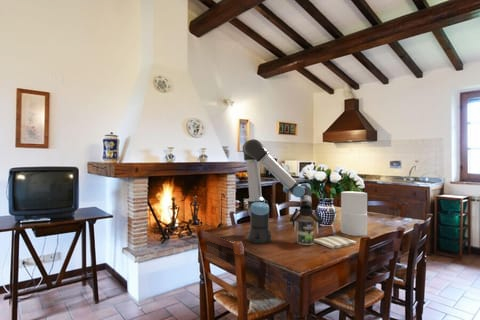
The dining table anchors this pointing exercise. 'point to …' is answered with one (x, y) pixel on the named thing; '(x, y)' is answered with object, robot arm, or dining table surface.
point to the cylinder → (354, 213)
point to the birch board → (334, 241)
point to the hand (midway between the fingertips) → (306, 232)
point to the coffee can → (305, 231)
